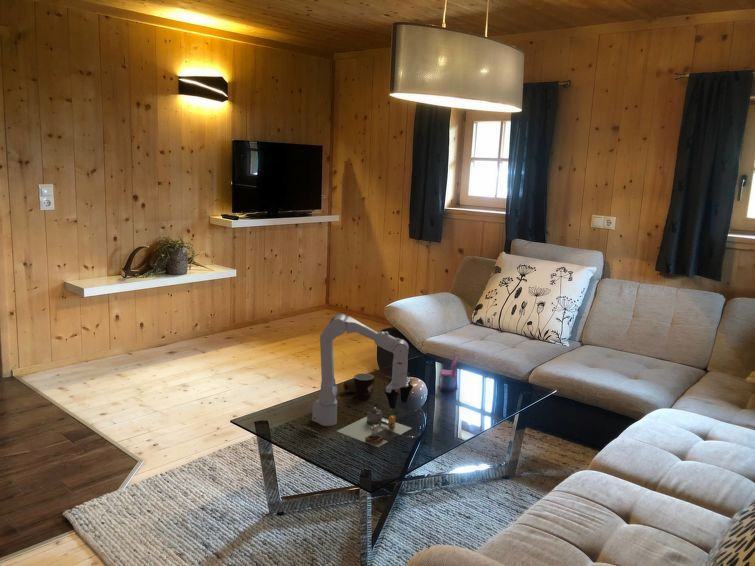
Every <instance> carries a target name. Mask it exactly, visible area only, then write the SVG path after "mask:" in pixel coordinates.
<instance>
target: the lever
mask: <svg viewBox="0 0 755 566" xmlns="http://www.w3.org/2000/svg"><path fill="white" fill-rule="evenodd" d="M388 420H389V422H388V421H385V420H381V424H384V425H387V426H388V428H390V429H394V428H395V422H396V415H392V414H391V415H389V416H388Z"/></svg>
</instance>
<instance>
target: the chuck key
mask: <svg viewBox="0 0 755 566" xmlns="http://www.w3.org/2000/svg"><path fill="white" fill-rule="evenodd" d="M378 427H379V425H372V428H371V430H372V431H371V439H373V440H377V439H378Z"/></svg>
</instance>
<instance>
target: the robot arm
mask: <svg viewBox="0 0 755 566" xmlns="http://www.w3.org/2000/svg"><path fill="white" fill-rule="evenodd" d="M345 333H346V335H347V334H353V333H357V334H358V335H361V336H362V337H365V338H368V339H371V340H373V341H374V343H375V346H378V347H379V348H381V349H384V350H385V351H388V352H389V353H392V354H393V359H392V374H391V382H390V383H389V384H388V385H387V386H385V388H384V394H385V396H386V398H387V402H388V405H389V406H388V407H389V409H393V410H395V408H396V406H397V405H396V404H397V399H398V396H399V395H400V402H401V403H404V404H407V402H408V400H409V395H410V393H411V391H413V390H412V389H413V388H414V385H413V381H412V380H413V378H412V377H408V366H409V365H408V364H409V363H408V362H409V361H408V359H409V357H408V355H409V343H408V342H407V341H406V340H405V339H403V338H399V337H395V336H392V335H390V334H389V331H379V332H378V331H377V330H374V329H372V328H371V327H368V326H367V325H365V324H363V323H362V322H360V321H358V320H357V319H355V318H353V317H352V316H349V315H348V316H347V314H344V313H338V314H336V315H334V316H333V317H332V318H331V319H330V320H329V322H328V323H327V325H326V326H325V328H324V329H323V330H322V332H321V334H320V336H319V346H320V348H319V349H320V368H321V369H320V374H321V383H320V392H319V394H318V399H316V400H315V401H314V402H313V405H312V418H311V419H312V422H315V423H317V424H319V425H320V426H324V427H333V426H335V425H337V424H338V400H337V397H336V396H337V395H338V393H339V388H338V385H337V384H336V379H335V366H334V363H335V362H334V340H335V339H336V338H337V337H340V336H342V335H343V334H345ZM397 389H399V391H400V392H397V391H396V390H397Z"/></svg>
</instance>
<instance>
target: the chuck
mask: <svg viewBox="0 0 755 566" xmlns="http://www.w3.org/2000/svg"><path fill="white" fill-rule="evenodd" d="M366 417H367V424H368V425H371V426H372V425H381V420H382V418H383V411H382V410H381V409H378V408H377V407H375V406H374V407H373V408H371V409H368V410H367V411H366Z"/></svg>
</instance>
